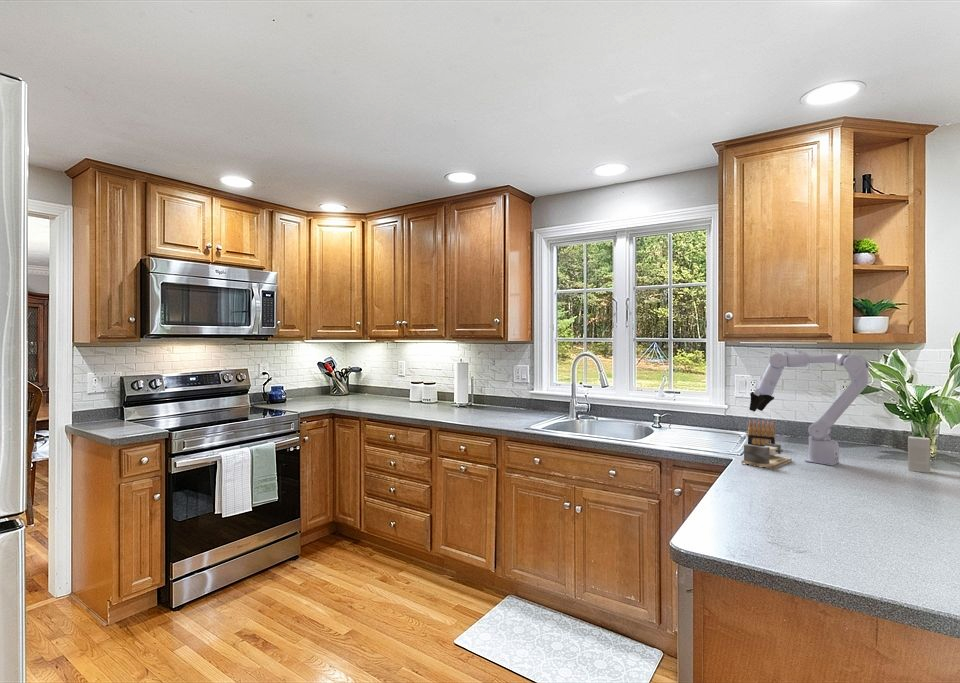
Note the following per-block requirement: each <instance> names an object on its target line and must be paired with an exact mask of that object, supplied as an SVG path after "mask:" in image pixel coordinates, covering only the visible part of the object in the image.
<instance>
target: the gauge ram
mask: <svg viewBox="0 0 960 683" xmlns="http://www.w3.org/2000/svg"><path fill="white" fill-rule="evenodd" d="M764 446H765V447H769V455H774V456H777V455H782V453H783V452H784V451H783V450H782V445H781V444H777V443H775V444H771V442H770V443H764Z"/></svg>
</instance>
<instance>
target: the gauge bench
mask: <svg viewBox="0 0 960 683" xmlns="http://www.w3.org/2000/svg"><path fill="white" fill-rule="evenodd" d="M792 460H793V459H792V457H787V456H781V455H769V447H765V446H758V445H751V444H748V443H746V444H743V460H741V464H742V463H745V464H750V465H755V466H754V467H756V466H761V467H760V468H762V467H766V468H765V469H767V468H770V469H769V470H774V468H775V469H776V467H777V468H779V467H781V465H782V466H784V465H787V464H789V463H791V462H792ZM788 462H789V463H788ZM745 464H744V465H745ZM750 465H749V466H750Z"/></svg>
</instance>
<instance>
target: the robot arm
mask: <svg viewBox="0 0 960 683" xmlns="http://www.w3.org/2000/svg"><path fill="white" fill-rule="evenodd" d="M768 360H769V361H768V362H769V363H768V366H767V367H766V369H765V371H764V373H763V375H762V377H761V379H760V382H759V384H758V386H756V385H754V388H755V390H754V392H750V394H749V395H750V402H749V407H748V408H749V410H750V411H751V412H753V413H754V412H756V411H757V410H758V411H761V412H763V411H764V409H765V408H766V407H767V405H768V404H769V403H771V402H772V401H773V400H774V399H775V396H773V394H774V392H775V389H776V387H777V384H778V382H779V380H780V378H781V376H782V373H783V370H784V368H785V367H787V368H804V367H805V368H806V367H808V366H809V365H810V364H826V363H827V364H830V363H831V364H832V363H833V364H836V365H837V366H840V367H842V366H843V368H844V369H845V370H846V372H847V373H848V376H849V379H850V383H849V384H848V385H847V387H845V389H844V390H843V391H842V392H841V394H839V396H838V397H837V398H836V399H835V400H834V401H833V403H832V404H831V405H830V407H829V408H828V409H827V410H826V411H825V412H823V415H822V416H821V417H820V418H819V419H818V420H816V421H814V422H813V423H811V424H810V425H809V426H808V427H807V431H808V432H807V433H808V435H809V436H808V458H806V459H805V460H804V461H805V462H808V463H815V464H821V465H826V466H827V465H829V466H835V465H837V464H839V463H840V458H839V456H840V455H839V453H840V452H839V451H840V450H839V449H840V445H839V442H838V441H836V440H832V438H831V436H830V434H831V432H832V427H833V426H834V424H836V422H837V420H839V419H840V417H841V416H842V415H843V413H845V411H847V409H848V408H849V407H850V406H851V405H852V404H853V402H854V401H855V400H856V399H857V397H858V396H859V395H860V394H861V393H862V392H863V391H864V390H865V388H866V387H867V386H868V384H869V366H870V365H869V364H868V361H867V359H866V358H865V357H864V356H863V355H861V354H857V353H856V354H849V353H839V352H838V353H825V354H808V353H807V352H805V351H804V352H803V351H802V350H797V352H787V351H784V352H783V353H781V352H780V353H778V352H777V353H773V354H772V355H771V356H770V357H769V359H768Z"/></svg>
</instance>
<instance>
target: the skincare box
mask: <svg viewBox="0 0 960 683" xmlns="http://www.w3.org/2000/svg"><path fill="white" fill-rule="evenodd" d="M907 463H908V464H907V466H908V468H907V469H908V472H909V471H911V472H918V473H926V474H930V473H931V438H929V437H920V436H910V435H908V437H907Z"/></svg>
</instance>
